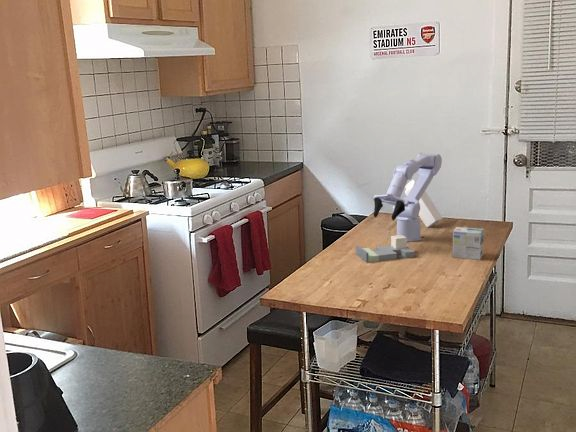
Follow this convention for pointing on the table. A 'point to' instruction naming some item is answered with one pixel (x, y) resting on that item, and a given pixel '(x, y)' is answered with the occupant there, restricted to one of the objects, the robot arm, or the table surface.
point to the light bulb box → (468, 243)
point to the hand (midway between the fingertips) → (383, 217)
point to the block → (398, 241)
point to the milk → (425, 207)
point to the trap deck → (384, 253)
